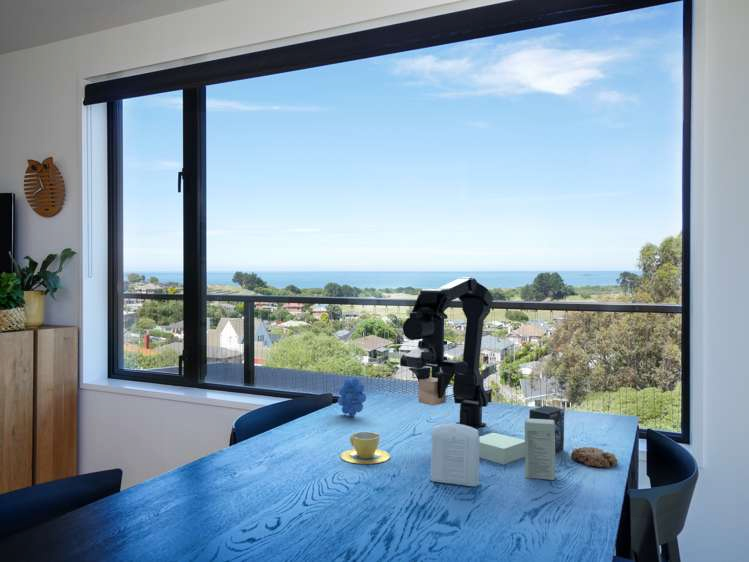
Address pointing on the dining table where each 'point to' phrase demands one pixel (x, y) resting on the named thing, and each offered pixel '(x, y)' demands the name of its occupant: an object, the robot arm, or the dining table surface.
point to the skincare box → (540, 448)
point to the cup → (365, 449)
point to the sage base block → (501, 448)
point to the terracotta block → (430, 392)
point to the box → (552, 414)
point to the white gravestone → (455, 454)
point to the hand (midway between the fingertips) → (432, 396)
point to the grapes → (352, 396)
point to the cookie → (594, 457)
